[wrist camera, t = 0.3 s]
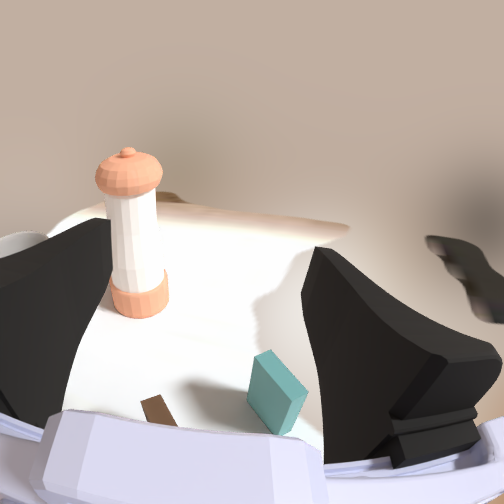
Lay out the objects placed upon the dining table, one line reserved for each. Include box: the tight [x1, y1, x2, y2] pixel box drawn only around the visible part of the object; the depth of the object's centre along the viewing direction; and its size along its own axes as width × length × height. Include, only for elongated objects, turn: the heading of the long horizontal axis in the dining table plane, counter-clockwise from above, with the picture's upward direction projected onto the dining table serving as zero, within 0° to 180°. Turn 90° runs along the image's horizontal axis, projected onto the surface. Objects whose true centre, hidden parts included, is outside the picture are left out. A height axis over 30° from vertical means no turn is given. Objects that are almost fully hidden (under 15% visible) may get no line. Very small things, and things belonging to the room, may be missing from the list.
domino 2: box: [247, 350, 308, 436], centre depth 26 cm, size 2×5×7 cm, turn 33°
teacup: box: [0, 231, 49, 258], centre depth 33 cm, size 14×11×8 cm
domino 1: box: [140, 394, 178, 427], centre depth 21 cm, size 2×5×7 cm, turn 33°
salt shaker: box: [95, 147, 169, 318], centre depth 34 cm, size 7×7×19 cm
